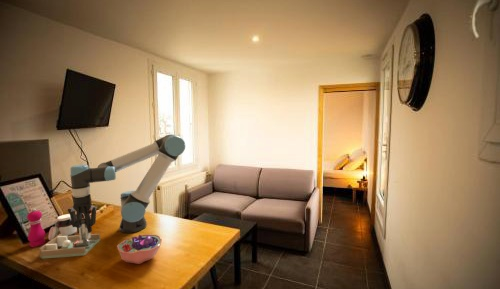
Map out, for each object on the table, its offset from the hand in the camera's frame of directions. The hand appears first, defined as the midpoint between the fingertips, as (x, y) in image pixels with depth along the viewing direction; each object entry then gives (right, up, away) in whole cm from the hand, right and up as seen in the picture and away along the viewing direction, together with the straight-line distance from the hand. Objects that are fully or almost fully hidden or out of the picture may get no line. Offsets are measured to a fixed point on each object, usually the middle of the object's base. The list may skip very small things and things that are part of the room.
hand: (85, 238), depth 122 cm
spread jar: (-22, -4, +13) cm, 26 cm away
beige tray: (-7, -5, 0) cm, 8 cm away
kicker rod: (-1, -4, 0) cm, 4 cm away
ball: (-9, -2, -1) cm, 9 cm away
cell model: (+34, -6, -10) cm, 36 cm away
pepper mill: (-29, -5, +5) cm, 30 cm away
